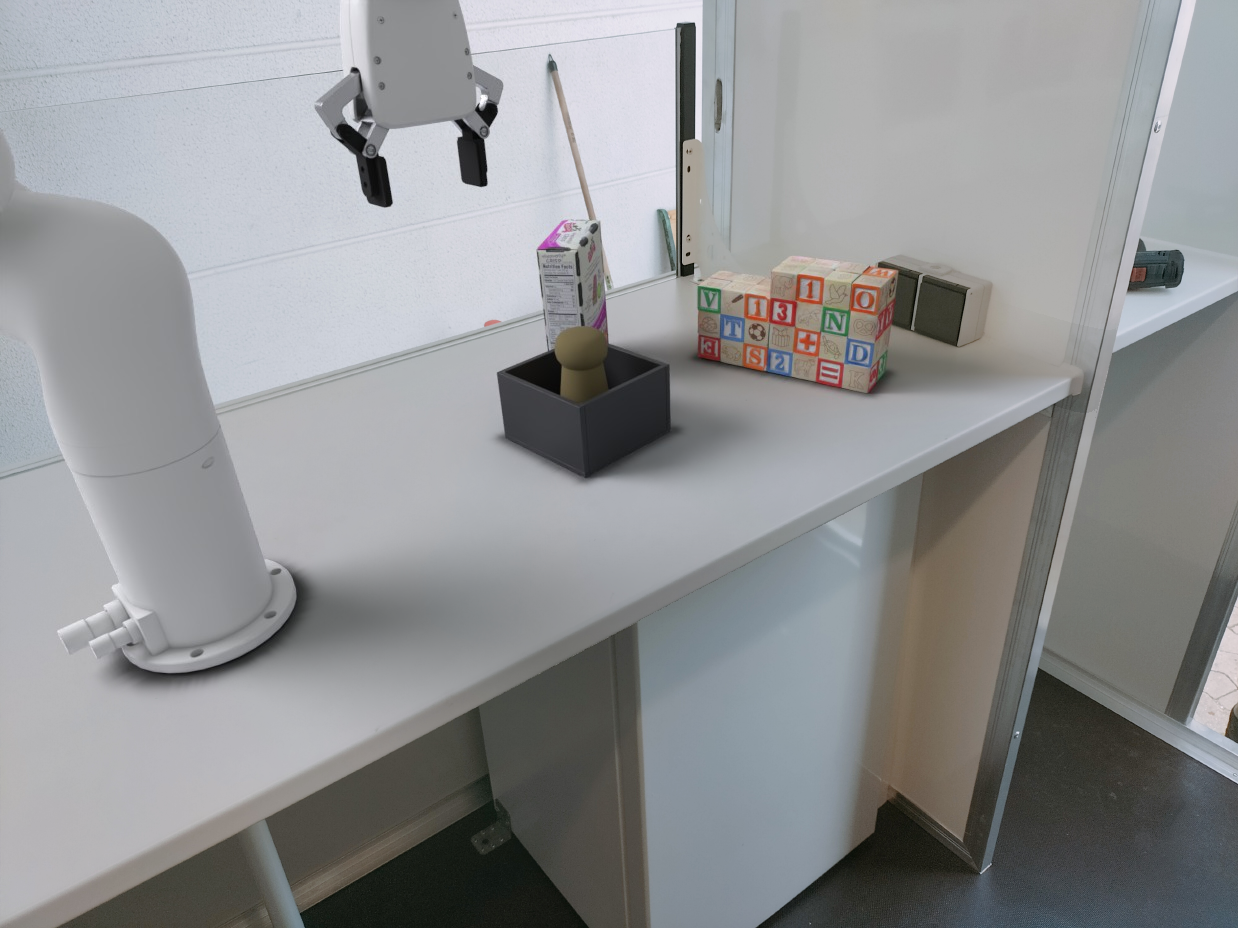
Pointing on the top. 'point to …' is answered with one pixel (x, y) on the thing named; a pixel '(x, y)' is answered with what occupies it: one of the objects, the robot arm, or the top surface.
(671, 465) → the top surface
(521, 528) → the top surface
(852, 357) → the stack of blocks
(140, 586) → the robot arm
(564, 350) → the cork
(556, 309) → the candy bar box
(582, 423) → the basket
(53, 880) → the top surface
